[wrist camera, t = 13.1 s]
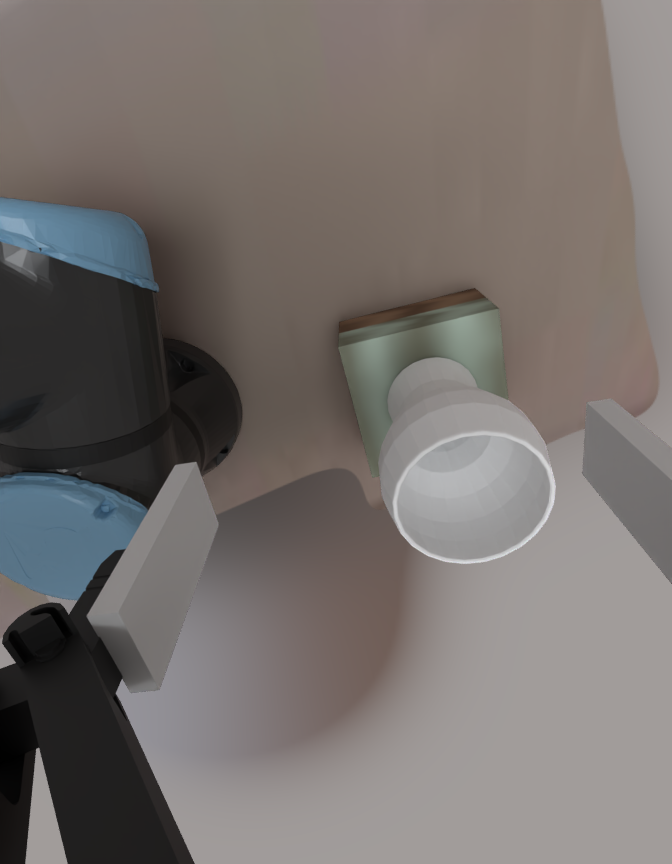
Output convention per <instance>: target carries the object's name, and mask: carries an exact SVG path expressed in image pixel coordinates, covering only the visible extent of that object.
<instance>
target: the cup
mask: <svg viewBox="0 0 672 864" xmlns="http://www.w3.org/2000/svg"><path fill="white" fill-rule="evenodd" d="M387 403H388V412H389V414H390V417H391V419H392V421H393V423H392V425H391V426H390V428H389V430H388V432H387V434H386V437H385V439H384V441H383V443H382V446H381V451H380V456H379V461H378V465H379V475H380V484H381V493H382V498H383V500H384V502H385V505H386V507H387V509H388V511H389V513H390V515H391V517H392V519H393V521H394V522H395V524H396V526H397V528H398V530H399V531H400V533H401V534H402V535H403V537H404V538H406V540H407V541H408V542H409V543H410V545H411V546H413V547H414V548H416V549H417V550H419V551H421V552H422V553H424V554H425V555H427V556H429V557H433V558H435V559H438V560H441V561H444V562H451V563H452V562H453V563H461V564H468V563H479V562H486V561H489V560H492V559H496V558H499V557H503V556H505V555H506V554H508V553H510V552H512V551H514V550H516V549H518V548H520V547H521V546H523V545H524V544H525V543H526V542H527V541H529V540H530V539H531V538H533V537H534V536H535V535H536V534H537V532H538V531H539V530H540V528H541V527H542V526H543V525H544V523H545V522H546V521H547V519H548V516H549V514H550V512H551V509H552V507H553V504H554V498H555V488H556V484H555V480H554V476H553V472H552V468H551V464H550V460H549V456H548V452H547V448H546V444H545V442H544V440H543V439H542V437H541V436H540V434H539V432H538V431H537V429H536V428H535V426H534V425H533V424H532V423H531V421H530V420H529V419H528V417H527V416H526V415H525V414H524V412H522V411H521V410H520V409H519V408H517V407H516V406H515V405H514V404H512V403H511V402H510V401H509V400H507V399H504V398H502V397H499V396H497V395H494V394H492V393H490V392H487V391H484V390H482V389H479V388H477V384H476V381H475V379H474V378H473V376H472V375H471V373H470V372H469V370H468V369H466V368H465V367H464V366H463V365H461V364H460V363H458V362H455V361H453V360H451V359H447V358H439V357H434V358H426V359H422V360H420V361H417V362H414V363H412V364H411V365H409V366H408V367H406V368H405V369H403V370H402V371H401V372H400V374H399V375H398V376H397V377H396V378H395V379H394V381H393V383H392V385H391V387H390V389H389V394H388V399H387Z"/></svg>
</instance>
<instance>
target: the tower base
mask: <svg viewBox="0 0 672 864" xmlns="http://www.w3.org/2000/svg"><path fill="white" fill-rule="evenodd" d="M338 348H339V352H340V356H341V360H342V364H343V367H344V371H345V375H346V379H347V383H348V386H349V390H350V394H351V398H352V402H353V406H354V409H355V413H356V417H357V421H358V425H359V429H360V432H361V436H362V440H363V444H364V448H365V451H366V455H367V459H368V463H369V467H370V471H371V474H372V478H373V477H378V476H380V475H379V465H378V461H379V456H380V451H381V446H382V443H383V441H384V439H385V437H386V434H387V432H388V430H389V428H390V426H391V425H392V423H393V421H392V419H391V417H390V414H389V412H388V403H387V399H388V394H389V389H390V387H391V385H392V383H393V381H394V379H395V378H396V377H397V376H398V375H399V374H400V372H401V371H402V370H403V369H405V368H406V367H408V366H409V365H411V364H412V363H414V362H417V361H420V360H422V359H426V358H434V357H439V358H447V359H451V360H453V361H455V362H458V363H460V364H461V365H463V366H464V367H465V368H466V369H468V370H469V372H470V373H471V375H472V376H473V378H474V379H475V381H476V384H477V388H479V389H482V390H484V391H487V392H490V393H492V394H494V395H497V396H499V397H502V398H504V399H507V400H508V392H507V382H506V373H505V363H504V353H503V344H502V334H501V324H500V315H499V308H498V307H497V306H495V305H494V304H493V303H492V302H491V301H489V300H488V299H487V298H486V297H485V296H484V295H482V294H481V293H480V292H479V291H478V290H476V289H475V288H474V289H470V290H466V291H462V292H458V293H454V294H450V295H446V296H442V297H438V298H434V299H430V300H426V301H422V302H418V303H414V304H410V305H406V306H402V307H398V308H394V309H390V310H386V311H381V312H377V313H373V314H369V315H365V316H361V317H357V318H353V319H349V320H345V321H341V322H339V342H338Z"/></svg>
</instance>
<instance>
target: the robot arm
mask: <svg viewBox="0 0 672 864" xmlns="http://www.w3.org/2000/svg"><path fill="white" fill-rule="evenodd" d="M156 292H159V286H158V284H157V283H156V282H155V281H154V276H153V270H152V265H151V259H150V253H149V248H148V243H147V239H146V236H145V234H144V232H143V230H142V229H141V227H140V226H139V225H138V224H137V223H136V222H135V221H134V220H133V219H131V218H130V217H128V216H126V215H124V214H122V213H119V212H114V211H107V210H99V209H91V208H83V207H75V206H67V205H60V204H52V203H43V202H35V201H27V200H19V199H12V198H4V197H0V573H2V574H3V575H5V576H7V577H8V578H9V579H11V580H12V581H14V582H17V583H19V584H22V585H24V586H26V587H28V588H29V589H31V590H33V591H36V592H39V593H42V594H45V595H49V596H52V597H57V598H62V599H68V600H78V601H77V603H76V604H75V606H74V607H73V609H72V611H71V612H70V614H69V615H68V613H67V611H66V610H65V608H64V607H63V606H62V605H61V604H60V603H47V604H42V605H39V606H37V607H35V608H33V609H30V610H29V611H27V612H26V613H24V614H23V615H21V616H20V617H18V618H17V619H16V620H15V621H14V622H13V623H12V624H11V625H10V626H9V627H8V629H7V630H6V632H5V633H4V635H3V641H2V644H3V645H4V647H5V648H6V649H7V651H8V652H9V654H10V655H11V656H12V658H13V659H14V661H15V662H16V663H15V664H12V665H9V666H7V667H4V668H1V669H0V864H25V859H26V849H27V839H28V828H29V817H30V806H31V796H32V786H33V775H34V764H35V755H36V749H37V748H40V753H41V757H42V761H43V765H44V769H45V773H46V777H47V781H48V785H49V788H50V793H51V797H52V801H53V805H54V809H55V813H56V818H57V822H58V825H59V829H60V834H61V838H62V842H63V846H64V850H65V854H66V858H67V862H68V864H195V863H194V861H193V859H192V857H191V855H190V853H189V850H188V848H187V846H186V844H185V842H184V839H183V837H182V835H181V833H180V831H179V829H178V826H177V824H176V822H175V820H174V818H173V815H172V813H171V811H170V809H169V807H168V804H167V802H166V800H165V798H164V796H163V794H162V791H161V789H160V787H159V785H158V783H157V781H156V778H155V776H154V774H153V772H152V770H151V767H150V765H149V763H148V761H147V759H146V756H145V754H144V752H143V750H142V748H141V745H140V743H139V741H138V739H137V737H136V735H135V732H134V730H133V728H132V726H131V724H130V721H129V719H128V717H127V715H126V713H125V711H124V709H123V706H122V704H121V702H120V700H119V699H118V697H117V695H116V691H117V689H118V686H119V684H120V682H121V680H122V679H123V681H124V682H125V684H126V686H127V688H128V689H129V691H130V693H137V692H146V691H156V690H160V687H161V685H162V681H163V679H164V676H165V673H166V671H167V668H168V665H169V662H170V659H171V657H172V654H173V651H174V648H175V646H176V643H177V640H178V637H179V634H180V631H181V628H182V626H183V623H184V620H185V618H186V615H187V612H188V609H189V607H190V604H191V601H192V598H193V595H194V593H195V589H196V587H197V584H198V581H199V579H200V576H201V573H202V570H203V568H204V565H205V562H206V559H207V556H208V554H209V551H210V548H211V545H212V542H213V539H214V537H215V534H216V531H217V529H218V526H219V524H218V521H217V518H216V515H215V512H214V510H213V507H212V504H211V501H210V499H209V496H208V493H207V490H206V487H205V485H204V482H203V479H202V476H203V475H205V474H206V473H208V472H209V471H211V470H212V469H214V468H215V467H217V466H218V465H219V464H220V463H221V462H222V461H223V460H224V459H225V458H226V457H227V455H228V454H229V452H230V451H231V449H232V448H233V445H234V443H235V441H236V439H237V436H238V434H239V431H240V427H241V422H242V407H241V401H240V397H239V394H238V391H237V389H236V387H235V385H234V383H233V381H232V379H231V378H230V376H229V375H228V374H227V372H226V371H225V370H224V369H223V367H222V366H221V365H220V364H219V363H218V362H217V361H215V360H214V359H213V358H212V357H211V356H209V355H208V354H206V353H205V352H203V351H202V350H200V349H198V348H196V347H194V346H192V345H189V344H187V343H184V342H181V341H177V340H172V339H164V338H162V331H161V323H160V316H159V308H158V301H157V293H156ZM582 473H583V475H584V477H585V478H586V479H587V480H588V481H589V483H590V484H591V485H592V486H593V488H594V489H595V490H596V491H597V493H598V494H599V495H600V496H601V497H602V499H603V500H604V501H605V502H606V504H607V505H608V506H609V507H610V509H611V510H612V511H613V512H614V514H615V515H616V516H617V517H618V518H619V520H620V521H621V522H622V523H623V525H624V526H625V527H626V528H627V529H628V531H629V532H630V533H631V534H632V536H633V537H634V538H635V539H636V541H637V542H638V543H639V544H640V546H641V547H642V548H643V549H644V550H645V552H646V553H647V554H648V555H649V556H650V558H651V559H652V560H653V562H654V563H655V564H656V565H657V566H658V568H659V569H660V570H661V571H662V573H663V574H664V575H665V576H666V578H667V579H668V580H669V581H670V582H671V584H672V448H671V447H670V446H669V445H667V444H666V443H665V442H664V441H663V440H661V439H660V438H659V437H658V436H656V435H655V434H654V433H653V432H651V431H650V430H649V429H648V428H647V427H645V426H644V425H643V424H642V423H641V422H639V421H638V420H637V419H636V418H634V417H633V416H632V415H631V414H630V413H628V412H627V411H626V410H625V409H623V408H622V407H621V406H620V405H618V404H617V403H616V402H615V401H614V400H612V399H605V400H599V401H592V402H587V405H586V421H585V439H584V455H583V472H582Z"/></svg>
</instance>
